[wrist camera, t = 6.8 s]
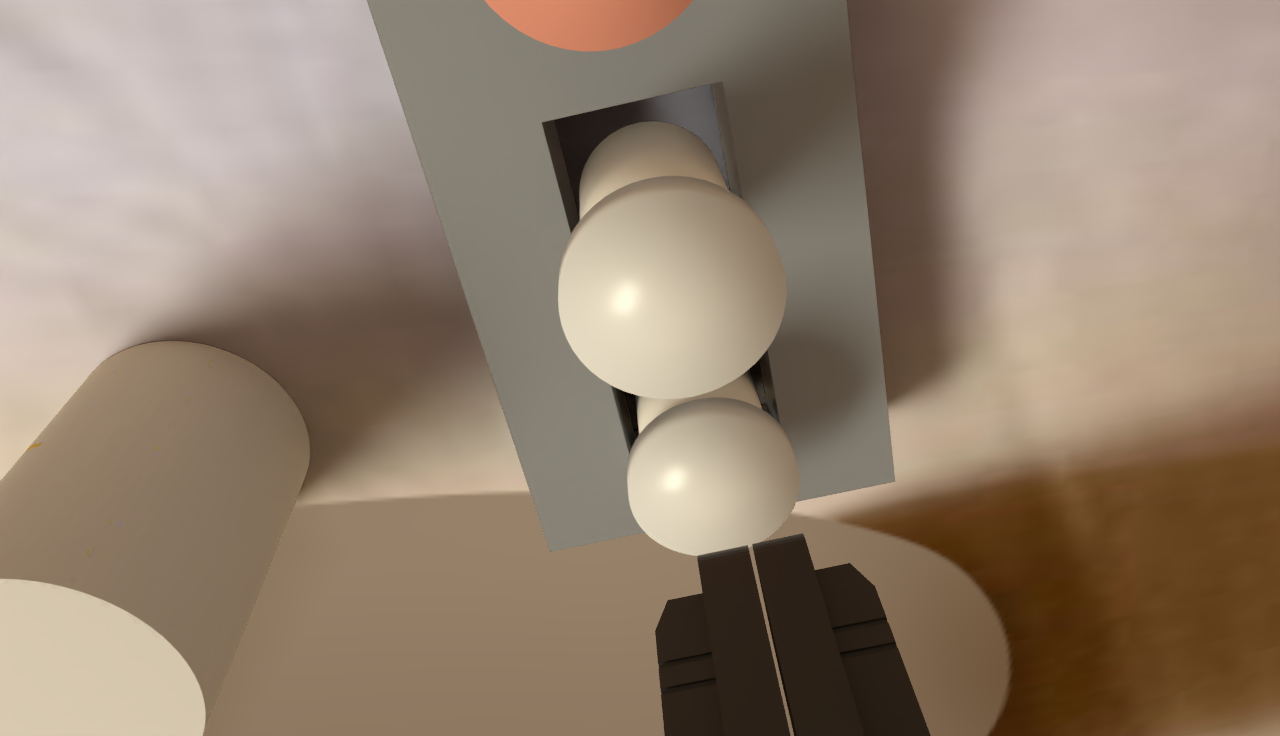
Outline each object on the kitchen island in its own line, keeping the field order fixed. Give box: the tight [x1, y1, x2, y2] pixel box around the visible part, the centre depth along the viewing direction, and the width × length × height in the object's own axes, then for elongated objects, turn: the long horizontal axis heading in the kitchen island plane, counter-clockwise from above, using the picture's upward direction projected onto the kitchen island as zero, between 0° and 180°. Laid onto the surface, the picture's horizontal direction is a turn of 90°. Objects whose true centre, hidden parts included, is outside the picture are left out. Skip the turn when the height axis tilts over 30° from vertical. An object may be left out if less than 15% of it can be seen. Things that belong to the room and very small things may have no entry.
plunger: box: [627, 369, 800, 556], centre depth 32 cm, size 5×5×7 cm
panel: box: [367, 0, 895, 552], centre depth 30 cm, size 12×24×4 cm, turn 12°
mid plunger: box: [558, 121, 787, 399], centre depth 25 cm, size 5×5×7 cm
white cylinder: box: [0, 341, 310, 736], centre depth 31 cm, size 8×8×12 cm
